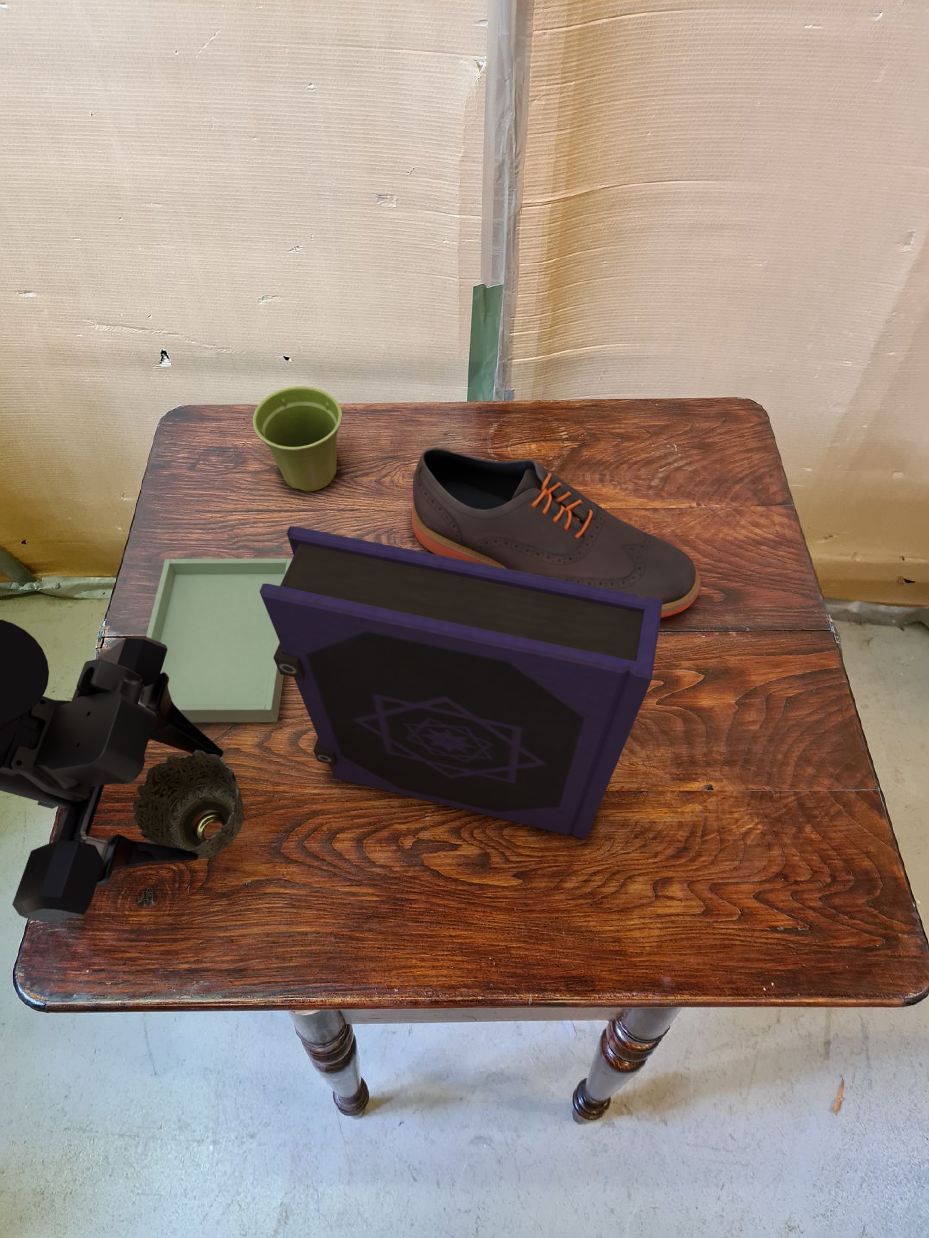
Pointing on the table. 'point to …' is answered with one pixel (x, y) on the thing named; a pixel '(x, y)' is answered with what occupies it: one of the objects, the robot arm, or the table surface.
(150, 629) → the tray
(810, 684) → the table surface
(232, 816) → the ornate lamp shade
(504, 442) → the table surface
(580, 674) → the book
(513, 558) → the oxford shoe
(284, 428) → the plant pot
